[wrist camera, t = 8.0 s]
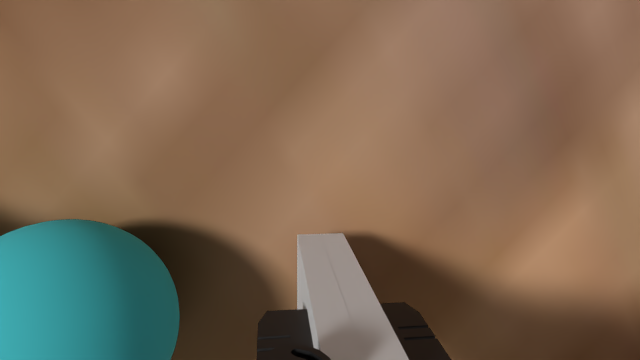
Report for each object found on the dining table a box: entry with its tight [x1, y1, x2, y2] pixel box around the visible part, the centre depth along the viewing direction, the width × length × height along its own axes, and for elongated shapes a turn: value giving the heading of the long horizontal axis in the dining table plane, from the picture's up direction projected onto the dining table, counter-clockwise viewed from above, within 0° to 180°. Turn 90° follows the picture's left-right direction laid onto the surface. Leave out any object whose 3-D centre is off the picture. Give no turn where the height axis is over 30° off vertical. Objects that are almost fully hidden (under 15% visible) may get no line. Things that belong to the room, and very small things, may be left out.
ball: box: [0, 219, 180, 360], centre depth 11 cm, size 6×6×6 cm
